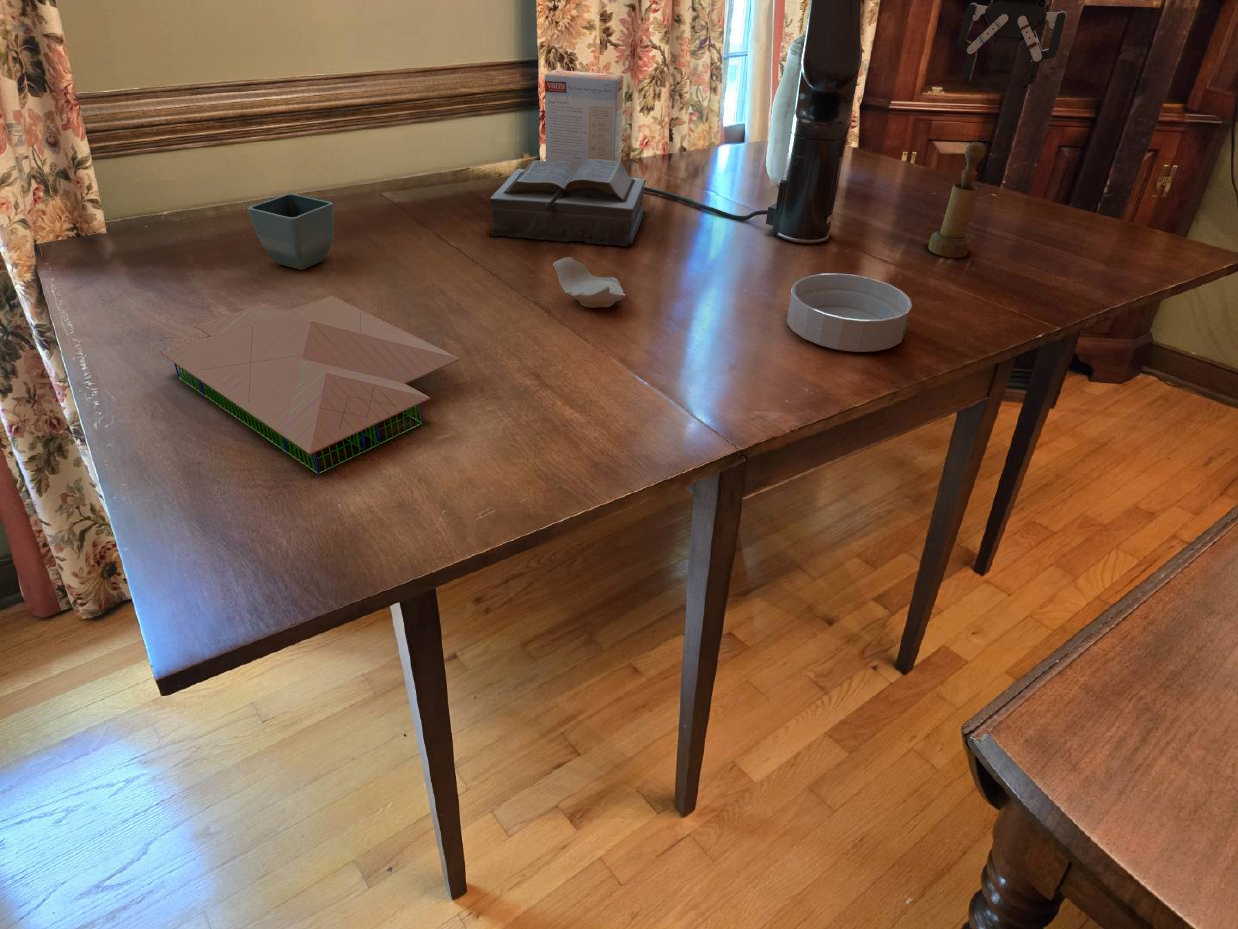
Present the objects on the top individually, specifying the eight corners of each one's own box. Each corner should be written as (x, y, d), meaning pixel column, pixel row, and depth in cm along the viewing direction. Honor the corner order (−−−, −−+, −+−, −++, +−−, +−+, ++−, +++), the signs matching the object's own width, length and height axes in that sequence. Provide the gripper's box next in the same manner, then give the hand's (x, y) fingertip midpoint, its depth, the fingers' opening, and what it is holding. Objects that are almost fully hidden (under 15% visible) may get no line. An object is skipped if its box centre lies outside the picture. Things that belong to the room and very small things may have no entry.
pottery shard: (619, 322, 114) (620, 288, 111) (541, 313, 116) (540, 280, 113) (632, 292, 123) (633, 260, 120) (559, 285, 124) (559, 253, 121)
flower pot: (343, 259, 129) (334, 201, 124) (303, 278, 122) (292, 218, 117) (300, 248, 132) (289, 192, 127) (258, 266, 125) (245, 207, 120)
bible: (621, 257, 134) (624, 196, 129) (472, 233, 141) (468, 174, 135) (661, 215, 153) (665, 160, 147) (527, 195, 159) (526, 142, 153)
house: (324, 312, 113) (313, 254, 108) (487, 396, 96) (484, 332, 92) (156, 369, 98) (136, 306, 94) (315, 481, 82) (300, 410, 77)
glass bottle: (801, 195, 166) (827, 40, 150) (755, 186, 170) (774, 34, 154) (819, 184, 173) (845, 35, 157) (774, 175, 177) (794, 29, 161)
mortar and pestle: (969, 259, 140) (1002, 149, 129) (930, 255, 140) (959, 145, 130) (964, 246, 145) (994, 139, 135) (926, 242, 146) (953, 136, 136)
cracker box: (620, 187, 166) (625, 73, 154) (613, 195, 161) (617, 79, 149) (553, 179, 168) (553, 67, 156) (545, 188, 163) (543, 73, 151)
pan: (770, 336, 112) (775, 302, 109) (806, 296, 124) (811, 265, 121) (888, 366, 106) (896, 331, 104) (913, 321, 118) (922, 288, 115)
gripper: (1086, -37, 118) (1047, 86, 127) (982, -44, 123) (952, 74, 132) (1083, -34, 112) (1043, 94, 122) (974, -42, 118) (944, 81, 127)
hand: (996, 83), depth 127 cm, fingers open, 8 cm apart
